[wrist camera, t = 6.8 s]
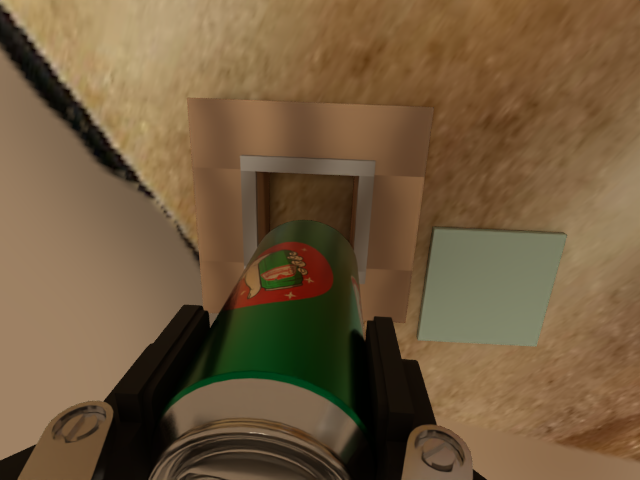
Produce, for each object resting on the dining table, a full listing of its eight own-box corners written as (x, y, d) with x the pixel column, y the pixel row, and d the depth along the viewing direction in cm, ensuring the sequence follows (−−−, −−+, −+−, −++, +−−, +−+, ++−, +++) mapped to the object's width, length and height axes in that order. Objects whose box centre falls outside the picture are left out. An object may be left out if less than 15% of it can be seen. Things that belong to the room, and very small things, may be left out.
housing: (417, 107, 28) (436, 107, 23) (395, 293, 34) (406, 327, 29) (211, 99, 29) (183, 97, 23) (221, 284, 34) (201, 316, 29)
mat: (563, 232, 31) (567, 234, 31) (533, 342, 35) (536, 346, 34) (432, 226, 32) (434, 228, 31) (416, 336, 35) (418, 340, 35)
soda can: (330, 323, 20) (315, 621, 8) (241, 285, 19) (97, 546, 8) (375, 243, 18) (433, 479, 7) (279, 198, 17) (165, 372, 6)
